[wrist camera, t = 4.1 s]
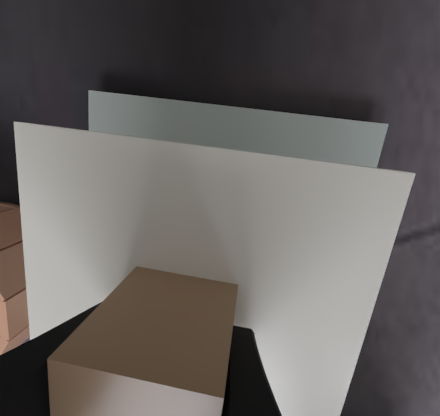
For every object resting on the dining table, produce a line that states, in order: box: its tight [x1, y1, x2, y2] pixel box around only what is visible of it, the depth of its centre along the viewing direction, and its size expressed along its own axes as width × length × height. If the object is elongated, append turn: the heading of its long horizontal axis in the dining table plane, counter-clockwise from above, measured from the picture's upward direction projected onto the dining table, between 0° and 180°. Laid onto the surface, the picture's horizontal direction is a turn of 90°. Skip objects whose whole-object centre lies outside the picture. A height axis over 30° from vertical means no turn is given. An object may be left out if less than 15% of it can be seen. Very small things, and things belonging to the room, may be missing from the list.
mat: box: [88, 90, 389, 168], centre depth 16 cm, size 16×16×1 cm
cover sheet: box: [14, 122, 415, 416], centre depth 8 cm, size 12×12×5 cm
